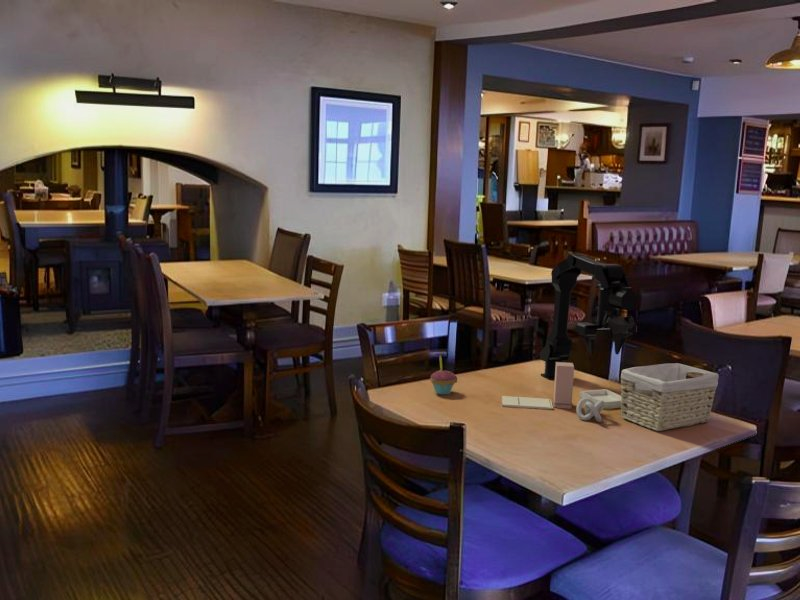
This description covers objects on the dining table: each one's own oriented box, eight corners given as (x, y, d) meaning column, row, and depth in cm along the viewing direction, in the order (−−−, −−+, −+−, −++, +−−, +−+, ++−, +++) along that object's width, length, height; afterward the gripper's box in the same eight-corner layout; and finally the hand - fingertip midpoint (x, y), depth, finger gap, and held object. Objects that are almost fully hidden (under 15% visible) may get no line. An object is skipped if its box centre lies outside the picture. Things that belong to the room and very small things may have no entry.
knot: (610, 424, 199) (611, 404, 198) (582, 424, 198) (584, 404, 197) (600, 416, 206) (601, 396, 205) (573, 416, 205) (575, 396, 204)
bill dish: (579, 397, 224) (579, 391, 223) (606, 395, 227) (606, 389, 227) (601, 409, 212) (602, 402, 212) (629, 406, 216) (630, 400, 215)
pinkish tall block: (553, 403, 217) (555, 361, 215) (569, 404, 217) (572, 362, 215) (554, 407, 213) (557, 365, 211) (571, 408, 212) (574, 366, 210)
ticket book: (502, 397, 221) (502, 395, 221) (550, 400, 220) (550, 398, 219) (502, 406, 213) (502, 404, 212) (553, 409, 211) (553, 407, 211)
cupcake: (424, 391, 226) (425, 355, 224) (442, 387, 231) (444, 351, 229) (443, 398, 219) (445, 360, 218) (462, 393, 225) (463, 356, 223)
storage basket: (670, 407, 216) (675, 360, 214) (717, 423, 202) (722, 373, 200) (614, 418, 204) (618, 368, 202) (659, 435, 191) (664, 382, 188)
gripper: (597, 310, 206) (593, 362, 208) (650, 308, 212) (646, 359, 214) (576, 304, 216) (572, 354, 219) (627, 302, 222) (623, 351, 225)
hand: (604, 354), depth 219 cm, fingers open, 9 cm apart
